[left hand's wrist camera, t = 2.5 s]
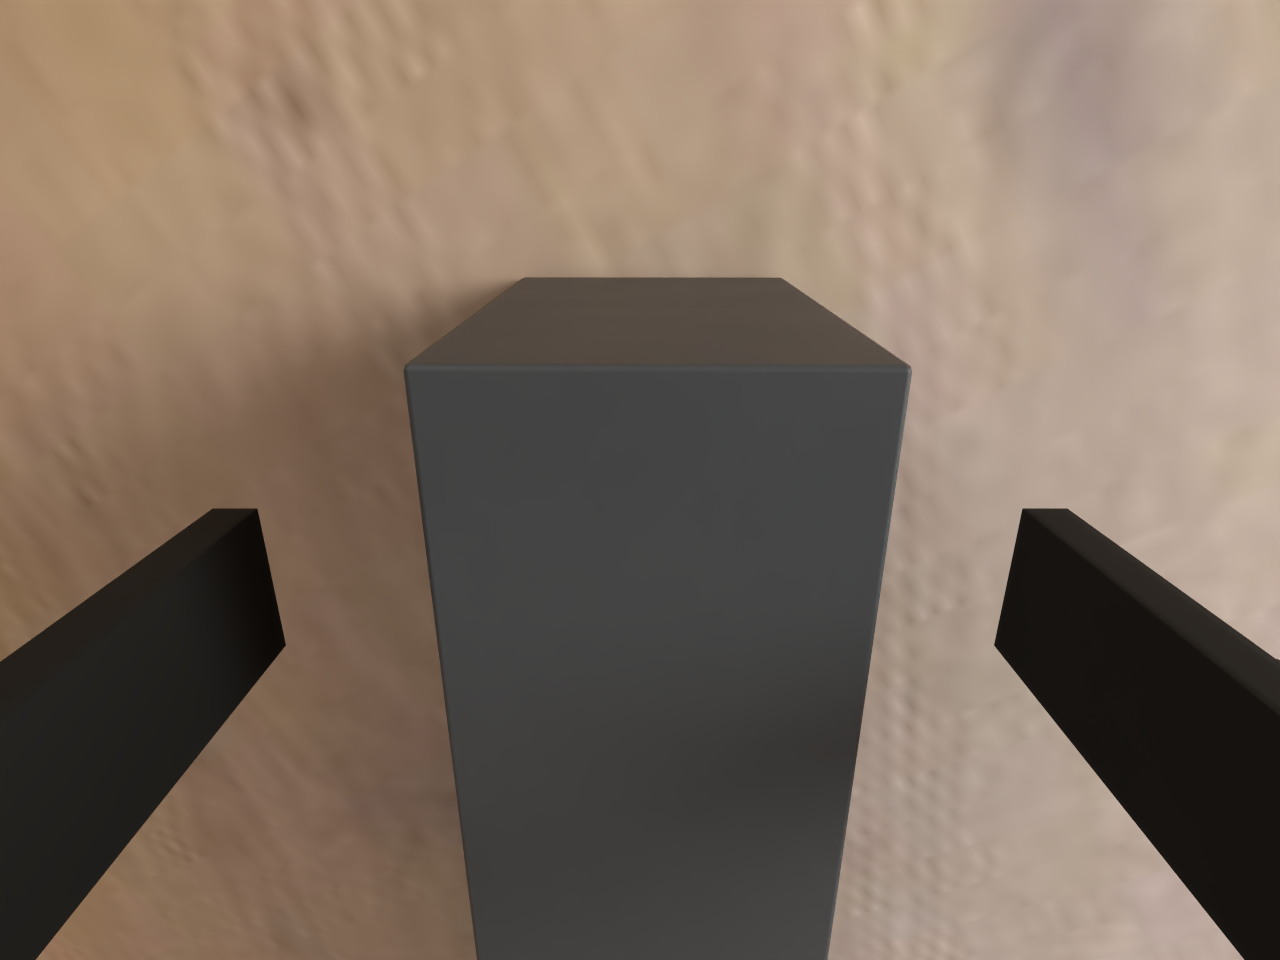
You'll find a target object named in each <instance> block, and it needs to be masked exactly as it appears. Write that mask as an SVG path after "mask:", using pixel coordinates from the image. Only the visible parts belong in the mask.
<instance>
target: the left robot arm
mask: <svg viewBox="0 0 1280 960" xmlns="http://www.w3.org/2000/svg"><path fill="white" fill-rule="evenodd" d="M285 646H286V644H285V639H284V634H283V630H282V625H281V620H280V615H279V610H278V606H277V601H276V596H275V591H274V586H273V581H272V577H271V572H270V567H269V562H268V557H267V553H266V548H265V543H264V538H263V533H262V529H261V524H260V519H259V514H258V509H211V510H210V511H209V512H207V513H206V514H205V515H203V516H202V517H200V518H199V519H198V520H196V521H195V522H193V523H192V524H191V525H189V526H188V527H187V528H185V529H184V530H182V531H181V532H180V533H178V534H177V535H175V536H174V537H173V538H171V539H170V540H169V541H167V542H166V543H164V544H163V545H162V546H160V547H159V548H157V549H156V550H155V551H153V552H152V553H151V554H149V555H148V556H146V557H145V558H144V559H142V560H141V561H139V562H138V563H137V564H135V565H134V566H133V567H131V568H130V569H128V570H127V571H126V572H124V573H123V574H121V575H120V576H119V577H117V578H116V579H114V580H113V581H112V582H110V583H109V584H108V585H106V586H105V587H103V588H102V589H101V590H99V591H98V592H96V593H95V594H94V595H92V596H91V597H90V598H88V599H87V600H85V601H84V602H83V603H81V604H80V605H78V606H77V607H76V608H74V609H73V610H72V611H70V612H69V613H67V614H66V615H65V616H63V617H62V618H60V619H59V620H58V621H56V622H55V623H54V624H52V625H51V626H49V627H48V628H47V629H45V630H44V631H42V632H41V633H40V634H38V635H37V636H35V637H34V638H33V639H31V640H30V641H29V642H27V643H26V644H24V645H23V646H22V647H20V648H19V649H17V650H16V651H15V652H13V653H12V654H11V655H9V656H8V657H6V658H5V659H4V660H2V661H1V662H0V960H36V958H37V957H38V956H39V955H40V953H41V952H42V951H43V950H44V948H45V947H46V946H47V945H48V943H49V942H50V941H51V940H52V938H53V937H54V936H55V935H56V933H57V932H58V931H59V930H60V928H61V927H62V926H63V925H64V923H65V922H66V921H67V920H68V918H69V917H70V916H71V914H72V913H73V912H74V911H75V909H76V908H77V907H78V906H79V904H80V903H81V902H82V901H83V899H84V898H85V897H86V896H87V894H88V893H89V892H90V891H91V889H92V888H93V887H94V886H95V884H96V883H97V882H98V881H99V879H100V878H101V877H102V876H103V874H104V873H105V872H106V871H107V869H108V868H109V867H110V865H111V864H112V863H113V862H114V860H115V859H116V858H117V857H118V855H119V854H120V853H121V852H122V850H123V849H124V848H125V847H126V845H127V844H128V843H129V842H130V840H131V839H132V838H133V837H134V835H135V834H136V833H137V832H138V830H139V829H140V828H141V827H142V825H143V824H144V823H145V822H146V820H147V819H148V818H149V816H150V815H151V814H152V813H153V811H154V810H155V809H156V808H157V806H158V805H159V804H160V803H161V801H162V800H163V799H164V798H165V796H166V795H167V794H168V793H169V791H170V790H171V789H172V788H173V786H174V785H175V784H176V783H177V781H178V780H179V779H180V778H181V776H182V775H183V774H184V773H185V771H186V770H187V769H188V767H189V766H190V765H191V764H192V762H193V761H194V760H195V759H196V757H197V756H198V755H199V754H200V752H201V751H202V750H203V749H204V747H205V746H206V745H207V744H208V742H209V741H210V740H211V739H212V737H213V736H214V735H215V734H216V732H217V731H218V730H219V729H220V727H221V726H222V725H223V724H224V722H225V721H226V720H227V719H228V717H229V716H230V715H231V713H232V712H233V711H234V710H235V708H236V707H237V706H238V705H239V703H240V702H241V701H242V700H243V698H244V697H245V696H246V695H247V693H248V692H249V691H250V690H251V688H252V687H253V686H254V685H255V683H256V682H257V681H258V680H259V678H260V677H261V676H262V675H263V673H264V672H265V671H266V670H267V668H268V667H269V666H270V664H271V663H272V662H273V661H274V659H275V658H276V657H277V656H278V654H279V653H280V652H281V651H282V649H283V648H284V647H285ZM994 646H995V647H996V648H997V649H998V651H999V652H1000V653H1001V654H1002V656H1003V657H1004V658H1005V659H1006V661H1007V662H1008V663H1009V664H1010V666H1011V667H1012V668H1013V670H1014V671H1015V672H1016V673H1017V675H1018V676H1019V677H1020V678H1021V680H1022V681H1023V682H1024V683H1025V685H1026V686H1027V687H1028V688H1029V690H1030V691H1031V692H1032V693H1033V695H1034V696H1035V697H1036V698H1037V700H1038V701H1039V702H1040V703H1041V705H1042V706H1043V707H1044V708H1045V710H1046V711H1047V712H1048V713H1049V715H1050V716H1051V717H1052V719H1053V720H1054V721H1055V722H1056V724H1057V725H1058V726H1059V727H1060V729H1061V730H1062V731H1063V732H1064V734H1065V735H1066V736H1067V737H1068V739H1069V740H1070V741H1071V742H1072V744H1073V745H1074V746H1075V747H1076V749H1077V750H1078V751H1079V752H1080V754H1081V755H1082V756H1083V757H1084V759H1085V760H1086V761H1087V762H1088V764H1089V765H1090V766H1091V768H1092V769H1093V770H1094V771H1095V773H1096V774H1097V775H1098V776H1099V778H1100V779H1101V780H1102V781H1103V783H1104V784H1105V785H1106V786H1107V788H1108V789H1109V790H1110V791H1111V793H1112V794H1113V795H1114V796H1115V798H1116V799H1117V800H1118V801H1119V803H1120V804H1121V805H1122V806H1123V808H1124V809H1125V810H1126V811H1127V813H1128V814H1129V815H1130V816H1131V818H1132V819H1133V820H1134V822H1135V823H1136V824H1137V825H1138V827H1139V828H1140V829H1141V830H1142V832H1143V833H1144V834H1145V835H1146V837H1147V838H1148V839H1149V840H1150V842H1151V843H1152V844H1153V845H1154V847H1155V848H1156V849H1157V850H1158V852H1159V853H1160V854H1161V855H1162V857H1163V858H1164V859H1165V860H1166V862H1167V863H1168V864H1169V865H1170V867H1171V868H1172V869H1173V871H1174V872H1175V873H1176V874H1177V876H1178V877H1179V878H1180V879H1181V881H1182V882H1183V883H1184V884H1185V886H1186V887H1187V888H1188V889H1189V891H1190V892H1191V893H1192V894H1193V896H1194V897H1195V898H1196V899H1197V901H1198V902H1199V903H1200V904H1201V906H1202V907H1203V908H1204V909H1205V911H1206V912H1207V913H1208V914H1209V916H1210V917H1211V918H1212V920H1213V921H1214V922H1215V923H1216V925H1217V926H1218V927H1219V928H1220V930H1221V931H1222V932H1223V933H1224V935H1225V936H1226V937H1227V938H1228V940H1229V941H1230V942H1231V943H1232V945H1233V946H1234V947H1235V948H1236V950H1237V951H1238V952H1239V953H1240V955H1241V956H1242V957H1243V958H1244V960H1280V660H1278V659H1275V658H1274V657H1272V656H1271V655H1269V654H1268V653H1267V652H1265V651H1264V650H1263V649H1261V648H1260V647H1258V646H1257V645H1256V644H1254V643H1253V642H1251V641H1250V640H1249V639H1247V638H1246V637H1244V636H1243V635H1242V634H1240V633H1239V632H1238V631H1236V630H1235V629H1233V628H1232V627H1231V626H1229V625H1228V624H1226V623H1225V622H1224V621H1222V620H1221V619H1220V618H1218V617H1217V616H1215V615H1214V614H1213V613H1211V612H1210V611H1208V610H1207V609H1206V608H1204V607H1203V606H1202V605H1200V604H1199V603H1197V602H1196V601H1195V600H1193V599H1192V598H1190V597H1189V596H1188V595H1186V594H1185V593H1184V592H1182V591H1181V590H1179V589H1178V588H1177V587H1175V586H1174V585H1172V584H1171V583H1170V582H1168V581H1167V580H1166V579H1164V578H1163V577H1161V576H1160V575H1159V574H1157V573H1156V572H1154V571H1153V570H1152V569H1150V568H1149V567H1147V566H1146V565H1145V564H1143V563H1142V562H1141V561H1139V560H1138V559H1136V558H1135V557H1134V556H1132V555H1131V554H1129V553H1128V552H1127V551H1125V550H1124V549H1123V548H1121V547H1120V546H1118V545H1117V544H1116V543H1114V542H1113V541H1111V540H1110V539H1109V538H1107V537H1106V536H1105V535H1103V534H1102V533H1100V532H1099V531H1098V530H1096V529H1095V528H1093V527H1092V526H1091V525H1089V524H1088V523H1087V522H1085V521H1084V520H1082V519H1081V518H1080V517H1078V516H1077V515H1075V514H1074V513H1073V512H1071V511H1070V510H1069V509H1022V514H1021V519H1020V524H1019V529H1018V533H1017V538H1016V543H1015V548H1014V553H1013V557H1012V562H1011V567H1010V572H1009V577H1008V581H1007V586H1006V591H1005V596H1004V601H1003V606H1002V610H1001V615H1000V620H999V625H998V630H997V634H996V639H995V644H994Z"/></svg>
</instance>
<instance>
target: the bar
mask: <svg viewBox="0 0 1280 960" xmlns="http://www.w3.org/2000/svg"><path fill="white" fill-rule="evenodd" d="M911 374H912V370H911V367H910V366H909V365H908V364H906V363H905V362H903V361H902V360H901V359H899V358H898V357H896V356H895V355H893V354H892V353H890V352H889V351H887V350H886V349H884V348H883V347H882V346H880V345H879V344H877V343H876V342H874V341H873V340H871V339H870V338H868V337H867V336H866V335H864V334H863V333H861V332H860V331H858V330H857V329H855V328H854V327H852V326H851V325H849V324H848V323H847V322H845V321H844V320H842V319H841V318H839V317H838V316H836V315H835V314H833V313H832V312H830V311H829V310H828V309H826V308H825V307H823V306H822V305H820V304H819V303H817V302H816V301H814V300H813V299H811V298H810V297H809V296H807V295H806V294H804V293H803V292H801V291H800V290H798V289H797V288H795V287H794V286H792V285H791V284H790V283H788V282H787V281H785V280H784V279H782V278H523V279H521V280H520V281H519V282H517V283H516V284H515V285H513V286H512V287H511V288H509V289H508V290H506V291H505V292H504V293H502V294H501V295H500V296H498V297H497V298H496V299H494V300H493V301H492V302H490V303H489V304H487V305H486V306H485V307H483V308H482V309H481V310H479V311H478V312H477V313H475V314H474V315H473V316H471V317H470V318H468V319H467V320H466V321H464V322H463V323H462V324H460V325H459V326H458V327H456V328H455V329H453V330H452V331H451V332H449V333H448V334H447V335H445V336H444V337H443V338H441V339H440V340H439V341H437V342H436V343H434V344H433V345H432V346H430V347H429V348H428V349H426V350H425V351H424V352H422V353H421V354H420V355H418V356H417V357H415V358H414V359H413V360H411V361H410V362H409V363H407V364H406V365H405V367H404V378H405V386H406V394H407V402H408V410H409V418H410V426H411V434H412V442H413V450H414V458H415V466H416V474H417V482H418V490H419V498H420V506H421V514H422V522H423V530H424V538H425V546H426V554H427V562H428V570H429V578H430V586H431V594H432V602H433V610H434V618H435V626H436V634H437V642H438V650H439V658H440V666H441V674H442V682H443V690H444V698H445V706H446V714H447V722H448V730H449V738H450V746H451V754H452V762H453V770H454V778H455V786H456V794H457V802H458V810H459V818H460V826H461V834H462V842H463V850H464V858H465V866H466V874H467V882H468V890H469V898H470V906H471V914H472V922H473V930H474V938H475V946H476V954H477V960H827V959H828V952H829V945H830V938H831V931H832V924H833V917H834V910H835V903H836V896H837V889H838V882H839V875H840V868H841V861H842V854H843V847H844V840H845V833H846V826H847V819H848V812H849V806H850V799H851V792H852V785H853V778H854V771H855V764H856V757H857V750H858V743H859V736H860V729H861V722H862V715H863V708H864V701H865V694H866V687H867V680H868V673H869V666H870V659H871V652H872V646H873V639H874V632H875V625H876V618H877V611H878V604H879V597H880V590H881V583H882V576H883V569H884V562H885V555H886V548H887V541H888V534H889V527H890V520H891V513H892V506H893V499H894V492H895V485H896V479H897V472H898V465H899V458H900V451H901V444H902V437H903V430H904V423H905V416H906V409H907V402H908V395H909V388H910V381H911Z"/></svg>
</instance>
